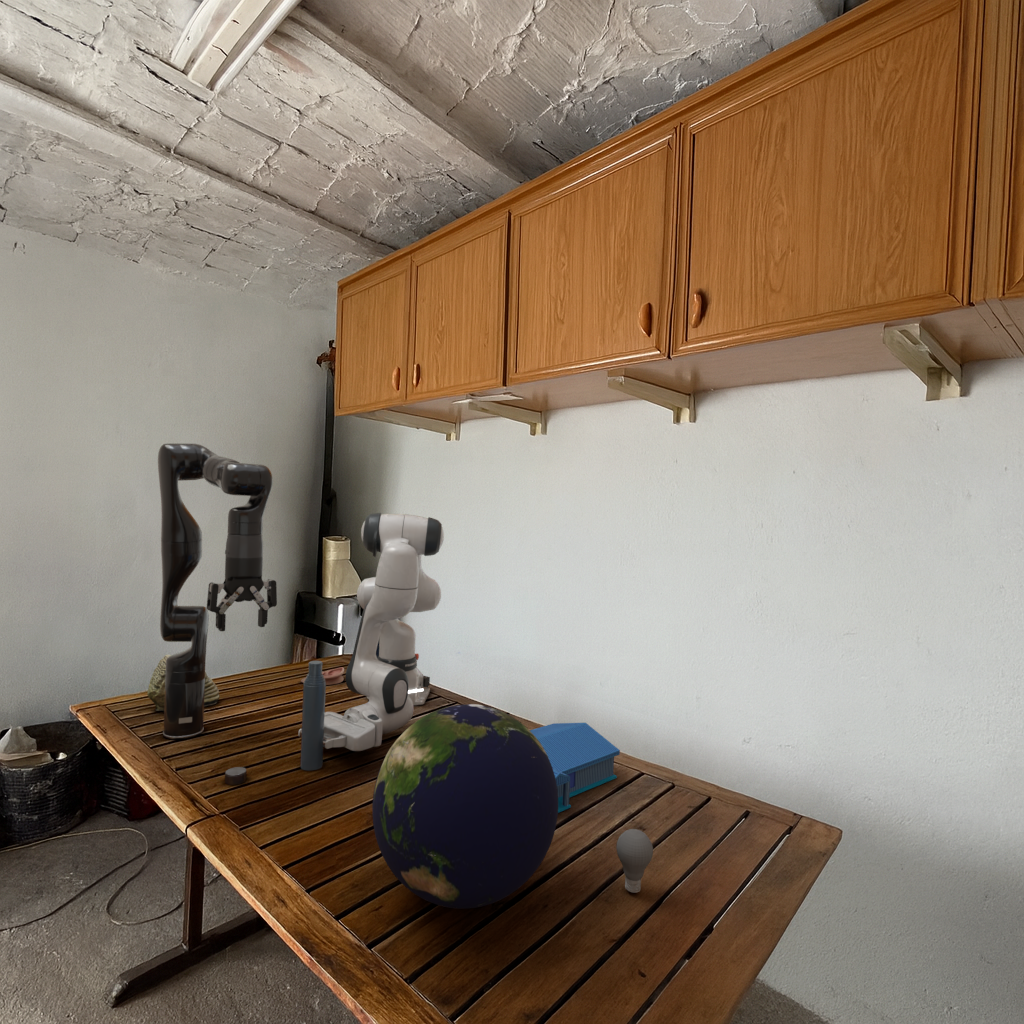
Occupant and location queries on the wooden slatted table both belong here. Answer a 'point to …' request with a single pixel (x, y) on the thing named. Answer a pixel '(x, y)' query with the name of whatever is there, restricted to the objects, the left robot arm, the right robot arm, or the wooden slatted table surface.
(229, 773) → the cap
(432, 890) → the globe
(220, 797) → the wooden slatted table surface
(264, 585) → the left robot arm
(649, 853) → the light bulb
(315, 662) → the bottle
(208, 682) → the fossil
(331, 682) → the anatomical model
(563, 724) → the model building
